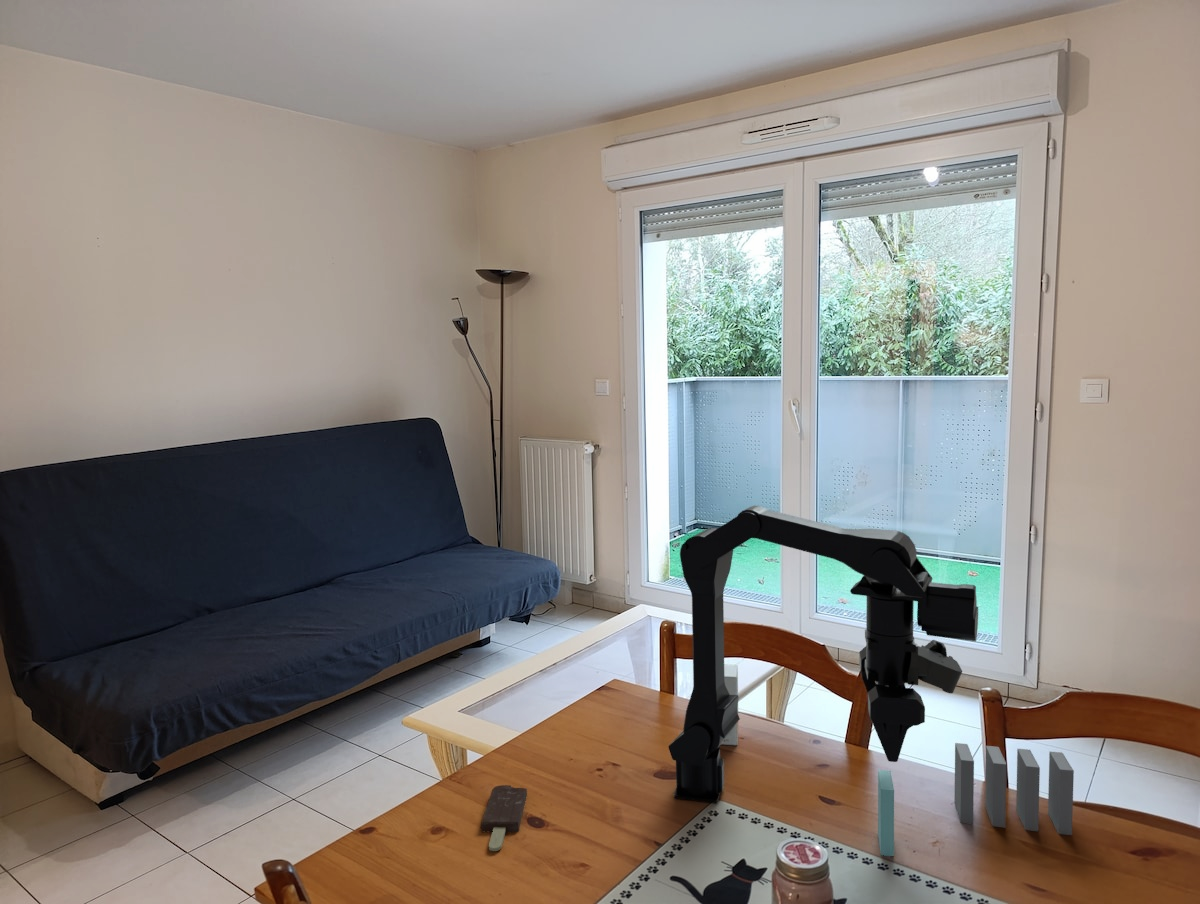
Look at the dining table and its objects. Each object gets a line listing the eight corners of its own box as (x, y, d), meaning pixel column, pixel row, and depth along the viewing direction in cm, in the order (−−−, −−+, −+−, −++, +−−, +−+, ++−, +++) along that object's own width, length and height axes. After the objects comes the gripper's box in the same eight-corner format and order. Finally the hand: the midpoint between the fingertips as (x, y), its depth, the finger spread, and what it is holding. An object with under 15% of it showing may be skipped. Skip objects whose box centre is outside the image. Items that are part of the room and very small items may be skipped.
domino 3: (1025, 829, 105) (1026, 766, 104) (1016, 809, 109) (1017, 748, 108) (1038, 831, 104) (1039, 767, 103) (1028, 810, 109) (1030, 749, 108)
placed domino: (880, 855, 100) (880, 789, 99) (878, 832, 105) (878, 769, 104) (893, 856, 100) (894, 790, 99) (890, 834, 105) (890, 770, 104)
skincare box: (738, 746, 131) (737, 677, 129) (712, 744, 131) (711, 676, 130) (739, 729, 136) (738, 663, 135) (714, 728, 137) (713, 662, 136)
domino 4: (1058, 833, 103) (1060, 769, 103) (1048, 813, 108) (1049, 751, 107) (1072, 835, 103) (1073, 770, 102) (1060, 814, 108) (1062, 752, 107)
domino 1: (960, 822, 107) (961, 759, 106) (954, 802, 112) (955, 742, 111) (973, 823, 106) (974, 761, 105) (966, 804, 111) (967, 744, 110)
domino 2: (992, 826, 106) (993, 763, 105) (984, 806, 110) (986, 745, 110) (1005, 827, 105) (1006, 764, 104) (997, 807, 110) (998, 746, 109)
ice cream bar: (513, 855, 104) (527, 794, 118) (513, 843, 103) (527, 784, 118) (474, 855, 104) (493, 795, 119) (474, 844, 104) (493, 784, 119)
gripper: (972, 659, 90) (969, 787, 92) (943, 610, 108) (941, 718, 110) (871, 653, 93) (870, 778, 94) (859, 606, 111) (858, 711, 112)
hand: (888, 744), depth 103 cm, fingers open, 9 cm apart
